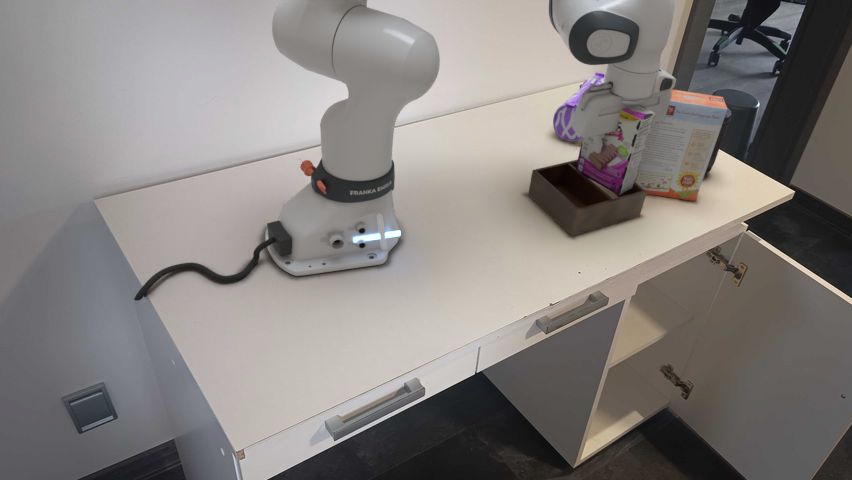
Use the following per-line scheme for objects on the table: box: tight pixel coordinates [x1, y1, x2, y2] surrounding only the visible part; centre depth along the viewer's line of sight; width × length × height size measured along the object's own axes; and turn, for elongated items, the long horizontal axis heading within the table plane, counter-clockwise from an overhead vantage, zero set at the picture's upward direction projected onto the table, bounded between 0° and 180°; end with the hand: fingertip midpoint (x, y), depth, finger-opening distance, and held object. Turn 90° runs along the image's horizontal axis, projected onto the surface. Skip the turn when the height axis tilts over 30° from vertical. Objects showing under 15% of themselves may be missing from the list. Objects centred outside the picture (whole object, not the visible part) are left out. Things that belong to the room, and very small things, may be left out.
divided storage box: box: [527, 159, 648, 237], centre depth 133 cm, size 17×15×6 cm
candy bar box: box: [576, 105, 655, 195], centre depth 128 cm, size 11×5×16 cm, turn 47°
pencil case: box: [552, 71, 605, 142], centre depth 158 cm, size 22×9×10 cm, turn 158°
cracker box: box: [635, 88, 728, 202], centre depth 136 cm, size 14×6×21 cm, turn 84°
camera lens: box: [703, 107, 732, 179], centre depth 146 cm, size 8×8×15 cm
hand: (612, 148), depth 129 cm, fingers closed on candy bar box, 5 cm apart
